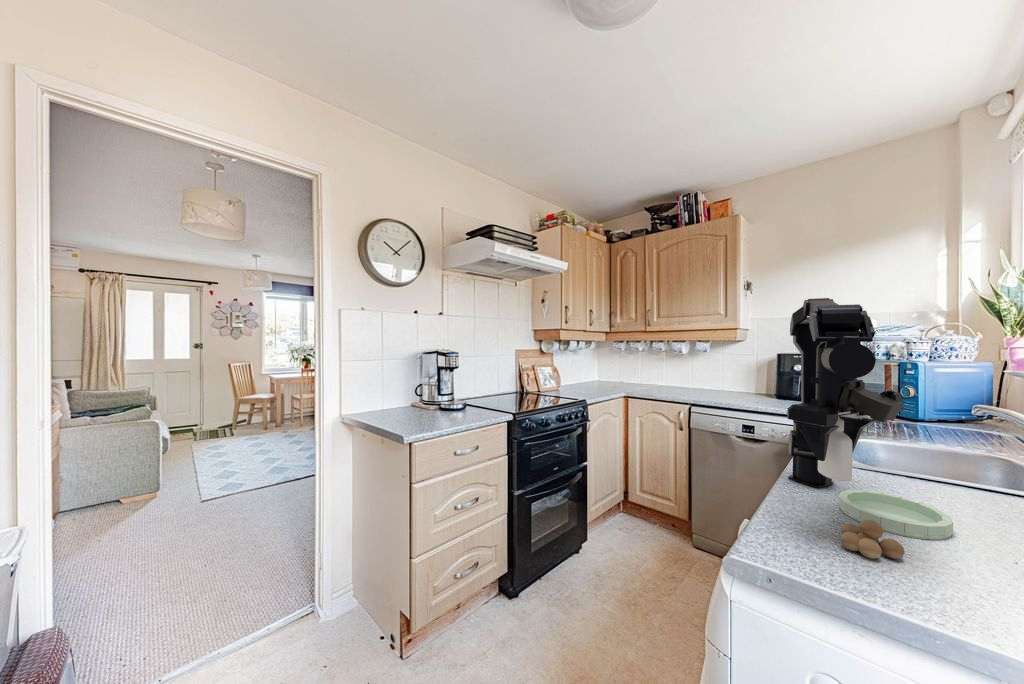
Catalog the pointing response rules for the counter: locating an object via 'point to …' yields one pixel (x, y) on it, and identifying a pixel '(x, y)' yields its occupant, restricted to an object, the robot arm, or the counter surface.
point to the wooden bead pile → (870, 540)
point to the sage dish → (896, 514)
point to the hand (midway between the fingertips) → (834, 457)
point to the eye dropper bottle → (838, 456)
